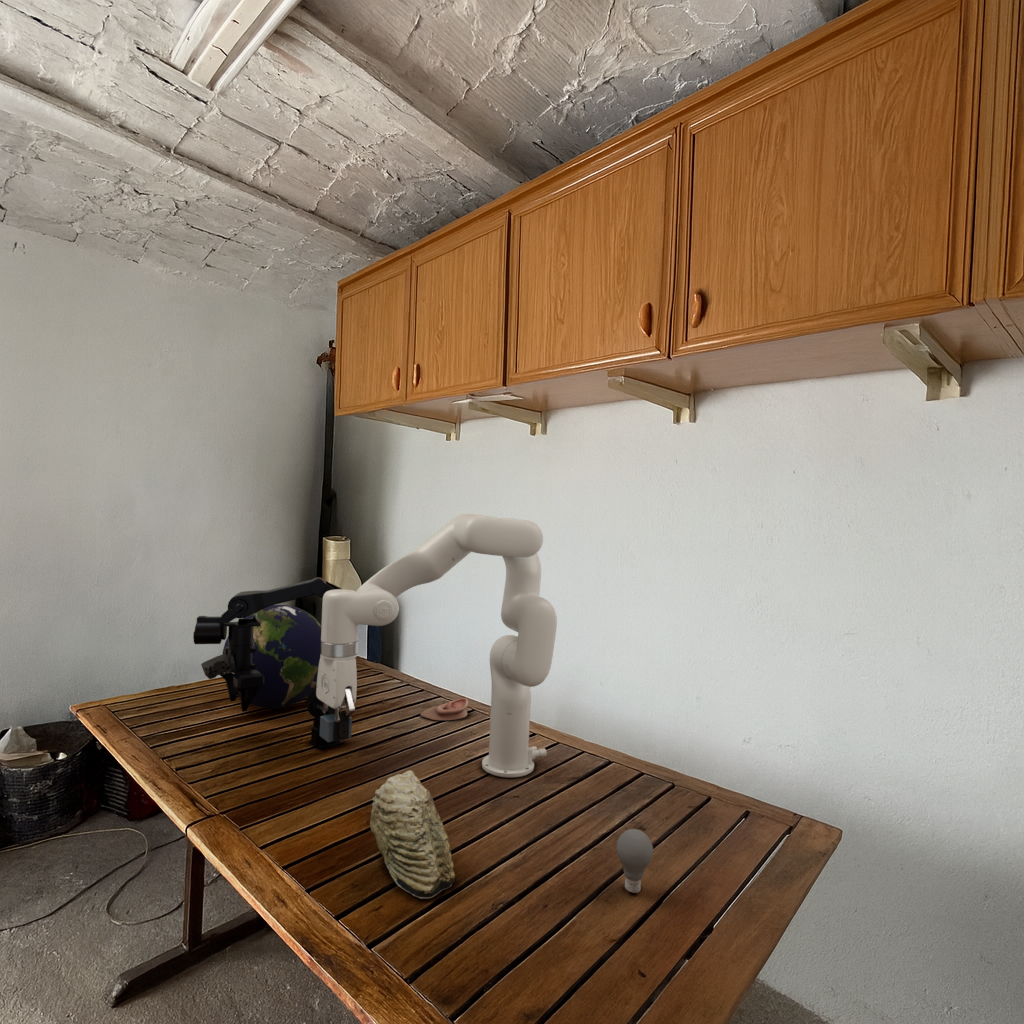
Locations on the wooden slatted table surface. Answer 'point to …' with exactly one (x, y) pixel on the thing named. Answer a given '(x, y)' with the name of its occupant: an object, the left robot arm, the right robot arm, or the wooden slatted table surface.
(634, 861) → the light bulb
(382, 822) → the fossil
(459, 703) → the anatomical model
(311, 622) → the globe
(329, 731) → the blue-grey block
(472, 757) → the wooden slatted table surface
